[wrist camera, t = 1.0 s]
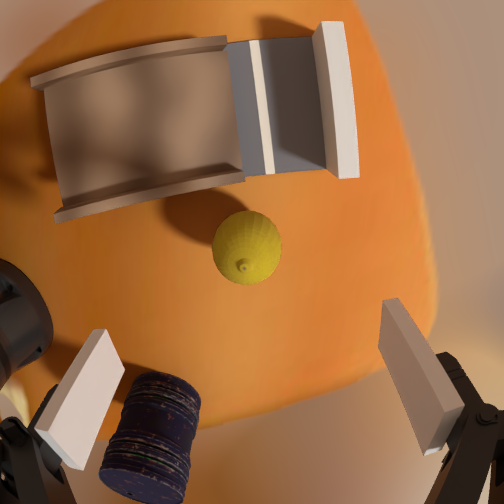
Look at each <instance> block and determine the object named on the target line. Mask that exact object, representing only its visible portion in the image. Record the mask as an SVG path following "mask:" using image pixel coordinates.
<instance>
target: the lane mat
mask: <svg viewBox="0 0 504 504" xmlns="http://www.w3.org/2000/svg"><path fill="white" fill-rule="evenodd" d="M259 46H260V53H261V61H262V68H263V76H264V83H265V91H266V99H267V107H268V115H269V124H270V132H271V141H272V150H273V159H274V168H275V173H285V172H296V171H308V170H321V169H326V157H325V145H324V133H323V123H322V113H321V104H320V95H319V87H318V79H317V71H316V63H315V56H314V49H313V43H312V37H289V38H274V39H262V40H259ZM223 51H227V52H228V60H229V68H230V75H231V83H232V91H233V98H234V106H235V114H236V121H237V129H238V137H239V144H240V152H241V160H242V168H239V169H240V170H242V171H244V175H245V177H247V176H256V175H265V174H266V171H265V163H264V154H263V146H262V137H261V129H260V121H259V113H258V105H257V97H256V89H255V81H254V74H253V66H252V59H251V51H250V44H249V41H244V42H236V43H229V44H228V45H227V46H226V47H225V48H224V49H223Z"/></svg>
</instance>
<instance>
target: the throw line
mask: <svg viewBox="0 0 504 504" xmlns="http://www.w3.org/2000/svg"><path fill="white" fill-rule="evenodd" d="M249 44H250V51H251V59H252V66H253V74H254V81H255V89H256V97H257V105H258V113H259V121H260V129H261V137H262V146H263V154H264V163H265V171H266V174H275V168H274V159H273V150H272V141H271V132H270V124H269V115H268V107H267V99H266V91H265V83H264V76H263V68H262V61H261V53H260V46H259V40H252V41H249Z"/></svg>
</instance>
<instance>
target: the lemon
mask: <svg viewBox="0 0 504 504" xmlns="http://www.w3.org/2000/svg"><path fill="white" fill-rule="evenodd" d="M281 250H282V243H281V238H280V234H279V232H278V230H277V228H276V226H275V225H274V224H273V222H272V221H271V220H270V219H269V218H267V217H266V216H264V215H263V214H261V213H258V212H255V211H240V212H237V213H234V214H232V215H230V216H229V217H227V218H226V219H225V220H223V222H222V223H221V224H220V225H219V227H218V228H217V230H216V233H215V235H214V238H213V245H212V252H213V258H214V261H215V264H216V266H217V268H218V270H219V271H220V272H221V273H222V275H223V276H224V277H226V278H227V279H228V280H230V281H232V282H234V283H237V284H242V285H252V284H256V283H259V282H261V281H263V280H265V279H266V278H267V277H269V276H270V275H271V274H272V273H273V271H274V270H275V268H276V267H277V265H278V262H279V260H280V257H281Z"/></svg>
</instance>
